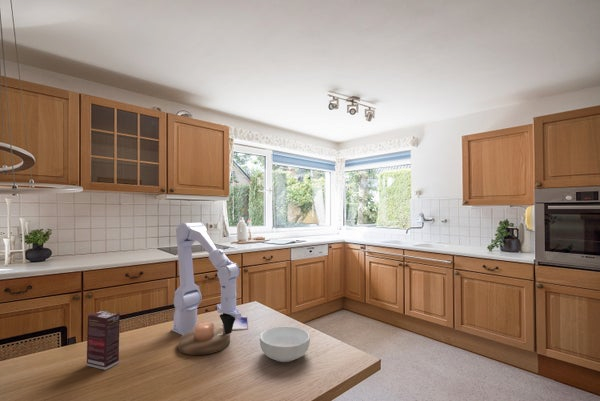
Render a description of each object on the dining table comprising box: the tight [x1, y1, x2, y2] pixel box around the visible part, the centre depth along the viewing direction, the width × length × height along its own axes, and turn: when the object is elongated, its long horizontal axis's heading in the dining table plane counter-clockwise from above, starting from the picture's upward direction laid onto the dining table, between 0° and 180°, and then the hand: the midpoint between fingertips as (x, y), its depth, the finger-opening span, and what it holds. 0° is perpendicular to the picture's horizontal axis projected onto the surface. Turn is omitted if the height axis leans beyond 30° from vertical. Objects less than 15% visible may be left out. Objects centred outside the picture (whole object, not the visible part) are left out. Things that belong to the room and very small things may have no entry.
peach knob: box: [194, 321, 215, 341], centre depth 107 cm, size 7×7×4 cm
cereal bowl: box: [259, 325, 311, 363], centre depth 98 cm, size 17×17×7 cm
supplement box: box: [86, 310, 121, 371], centre depth 93 cm, size 9×5×16 cm, turn 71°
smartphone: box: [232, 315, 249, 332], centre depth 127 cm, size 7×1×15 cm
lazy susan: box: [177, 326, 231, 356], centre depth 107 cm, size 18×18×5 cm
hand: (228, 333), depth 109 cm, fingers closed
